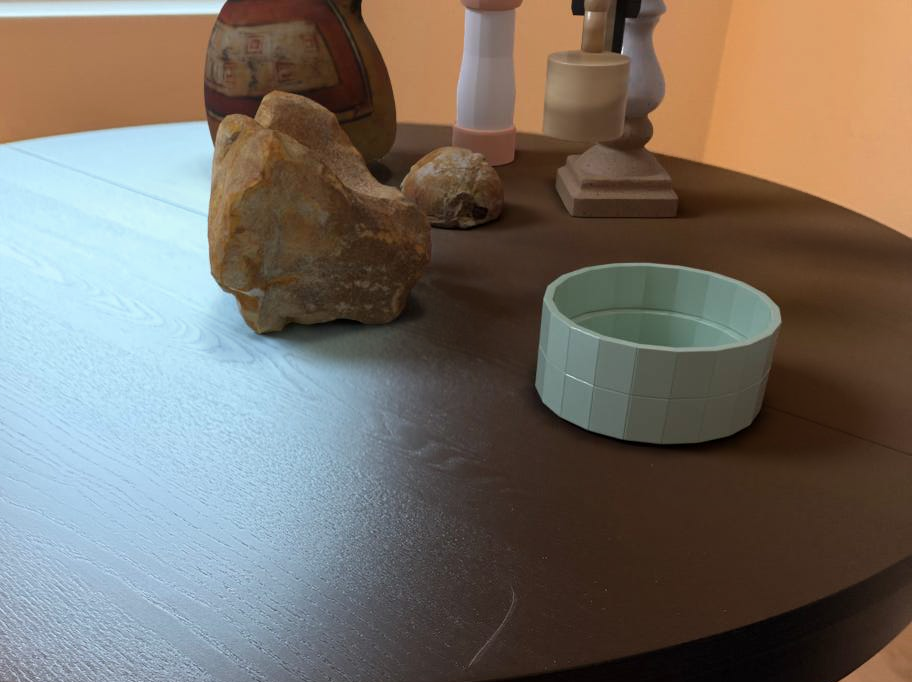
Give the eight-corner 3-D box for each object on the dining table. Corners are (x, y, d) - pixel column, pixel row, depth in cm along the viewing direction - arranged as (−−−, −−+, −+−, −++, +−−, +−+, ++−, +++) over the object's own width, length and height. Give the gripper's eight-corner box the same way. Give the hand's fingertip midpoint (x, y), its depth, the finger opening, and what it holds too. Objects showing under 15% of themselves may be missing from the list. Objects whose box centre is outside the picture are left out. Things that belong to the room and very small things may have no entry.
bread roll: (427, 268, 101) (450, 200, 95) (374, 197, 104) (393, 126, 98) (504, 250, 106) (532, 184, 99) (452, 182, 109) (475, 114, 102)
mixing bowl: (752, 368, 76) (774, 273, 72) (762, 467, 65) (789, 362, 60) (548, 347, 79) (557, 254, 74) (522, 440, 67) (531, 336, 62)
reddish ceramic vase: (210, 151, 120) (176, -178, 101) (382, 148, 123) (380, -172, 104) (213, 202, 105) (175, -173, 86) (409, 196, 108) (413, -167, 89)
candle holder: (653, 186, 113) (693, -79, 98) (677, 217, 104) (725, -68, 89) (553, 185, 112) (578, -82, 97) (570, 217, 104) (601, -71, 89)
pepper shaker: (492, 147, 124) (503, -43, 112) (526, 162, 119) (541, -35, 107) (440, 153, 121) (445, -41, 109) (472, 169, 117) (481, -32, 104)
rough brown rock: (412, 384, 75) (436, 164, 66) (184, 355, 74) (176, 129, 65) (432, 280, 93) (452, 97, 84) (249, 256, 93) (250, 70, 84)
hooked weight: (620, 145, 74) (636, 1, 69) (537, 140, 75) (547, -3, 70) (635, 84, 91) (650, -35, 86) (568, 81, 92) (578, -38, 87)
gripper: (747, -316, 73) (690, 59, 88) (540, -316, 76) (518, 49, 90) (751, -327, 68) (689, 75, 82) (526, -327, 70) (506, 65, 85)
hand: (600, 61), depth 86 cm, fingers closed on hooked weight, 2 cm apart
